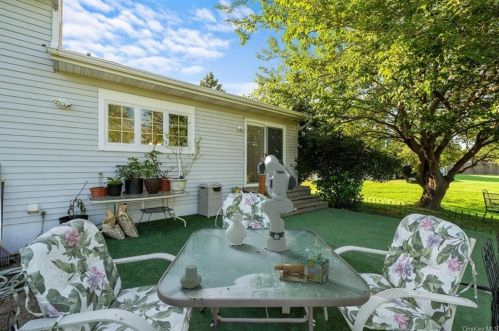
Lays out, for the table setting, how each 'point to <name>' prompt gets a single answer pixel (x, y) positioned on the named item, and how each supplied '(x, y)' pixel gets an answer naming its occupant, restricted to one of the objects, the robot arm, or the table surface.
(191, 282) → the air freshener
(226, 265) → the table surface
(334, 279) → the table surface
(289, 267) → the amber bottle
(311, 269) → the chalk box
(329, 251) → the table surface
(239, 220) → the decorative vase
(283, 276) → the bottle rest
